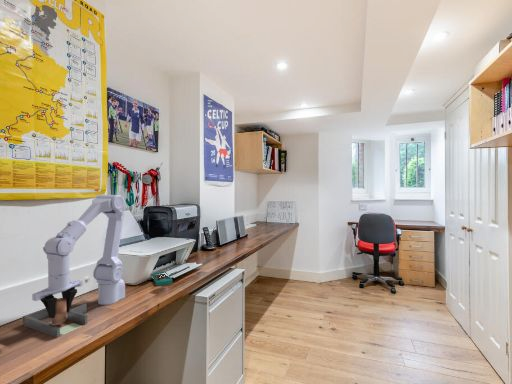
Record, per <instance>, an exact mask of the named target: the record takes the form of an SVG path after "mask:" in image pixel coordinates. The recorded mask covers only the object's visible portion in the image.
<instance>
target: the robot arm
mask: <svg viewBox="0 0 512 384" xmlns="http://www.w3.org/2000/svg"><path fill="white" fill-rule="evenodd" d="M125 206H126V201H125V199H124V198H123V196H122V195H120V194H97V195H96V196H95V197H94V198H93V199H92V201H91V204H90V206H88V207H87V209H86V210H85V211H84V212H83V213H82V214H81V216H80V217H79V218H78V219H77V220H76V219H75V220H72V221H68V222H67V223H66V225H65V227H64V228H63V229H61V230H60V232H57V234H56V236H54V237H51V238H49V239H47V241H46V242H45V244H44V246H43V247H42V250H43V252H44V253H45V254H46V259H47V270H48V271H47V273H48V275H47V277H48V279H47V281H48V282H47V284H48V285H47V286H48V287H46V288H44V289H41V290H39V291H37V292H35V293H31V294H32V296H31V297H32V298H31V300H32V301H35V302H38V301H40V302H41V303H42V304H43V306H44V307H45V308H46V310H47V312H48V318H50V319H52V318H55V306H56V301H57V299H58V298H57V297H55V295H56V294H60V293H61V298H66V299H67V312H69V311H70V309H71V308H72V303H73V300H74V298H75V297H76V295H77V293H78V289H77V288H80V287H83V285H84V283H83V280H81V279H77V280H72V281H70V254H71V253H72V252H73V251H74V248H75V245H76V242H77V241H78V240H79V239H80V238H81V237H82V236H83V235H84V234H85V232H87V226H88V225H89V224H90V223H91V222H92V221H94V220H95V219H96V218H97V217H98V216H99V215H100V214H104V215H105V216H106V217H107V218H108V223H107V228H106V234H105V239H104V247H103V254H102V257H101V258H100V259H98V260H97V262H96V265H95V267H94V269H93V274H92V276H93V278H94V279H95V280H96V283H98V284H97V287H98V288H97V299H98V300H97V303H98V304H99V305H103V306H104V305H105V306H107V305H112V304H115V303H116V302H118V301H120V300H122V299H125V298H126V282H125V281H124V279H123V278H122V277H123V275H124V269H123V262H122V261H121V259H120V258H119V251H120V250H119V249H120V243H121V237H122V230H123V224H124V223H123V222H124V218H125V213H124V212H125V208H126V207H125ZM70 307H71V308H70Z"/></svg>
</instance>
